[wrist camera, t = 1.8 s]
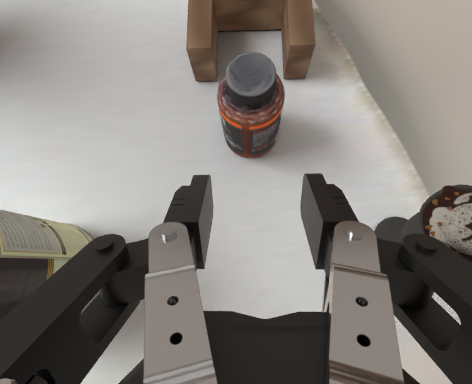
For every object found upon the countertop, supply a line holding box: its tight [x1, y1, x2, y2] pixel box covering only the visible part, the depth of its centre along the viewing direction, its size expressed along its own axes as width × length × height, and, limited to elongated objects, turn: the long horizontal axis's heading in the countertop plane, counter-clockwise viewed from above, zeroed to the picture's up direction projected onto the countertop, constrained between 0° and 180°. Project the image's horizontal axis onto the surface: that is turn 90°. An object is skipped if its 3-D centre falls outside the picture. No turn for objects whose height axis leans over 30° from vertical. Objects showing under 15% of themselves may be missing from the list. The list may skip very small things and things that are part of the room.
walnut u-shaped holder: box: [186, 0, 315, 81], centre depth 33 cm, size 13×10×6 cm
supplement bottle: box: [217, 52, 284, 158], centre depth 28 cm, size 6×6×11 cm
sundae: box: [375, 185, 472, 264], centre depth 23 cm, size 7×7×15 cm
